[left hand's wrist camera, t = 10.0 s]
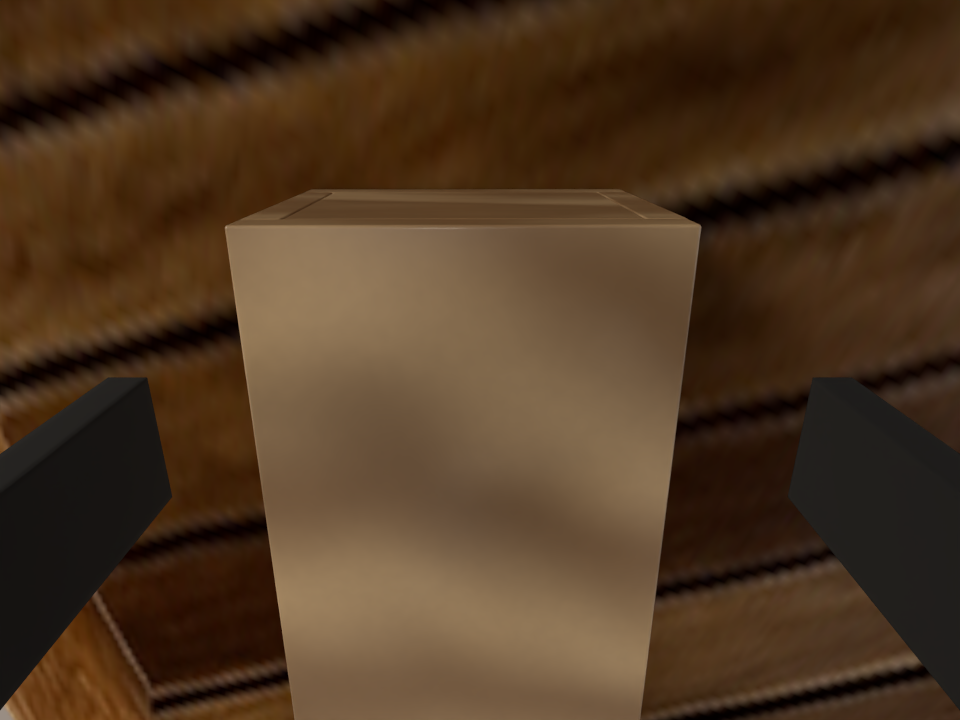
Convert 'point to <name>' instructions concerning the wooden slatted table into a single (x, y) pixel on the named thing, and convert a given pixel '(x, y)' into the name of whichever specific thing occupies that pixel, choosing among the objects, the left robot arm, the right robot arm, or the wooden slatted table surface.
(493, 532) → the cabinet
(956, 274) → the wooden slatted table surface
